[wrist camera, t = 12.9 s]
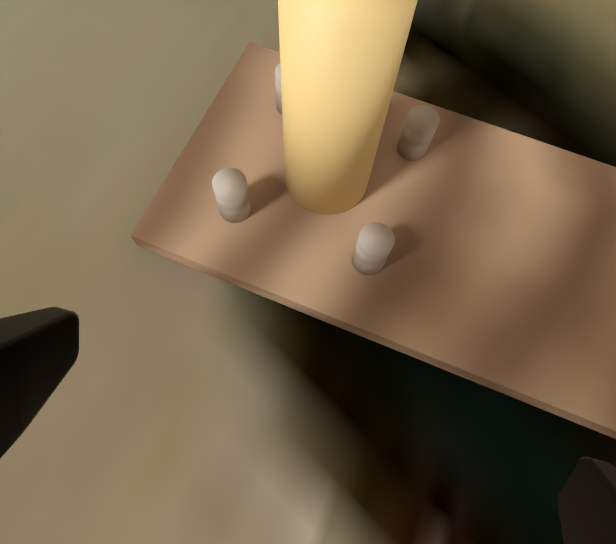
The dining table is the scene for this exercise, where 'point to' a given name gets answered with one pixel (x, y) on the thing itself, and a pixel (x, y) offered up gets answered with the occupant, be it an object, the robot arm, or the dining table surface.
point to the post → (337, 93)
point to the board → (414, 242)
